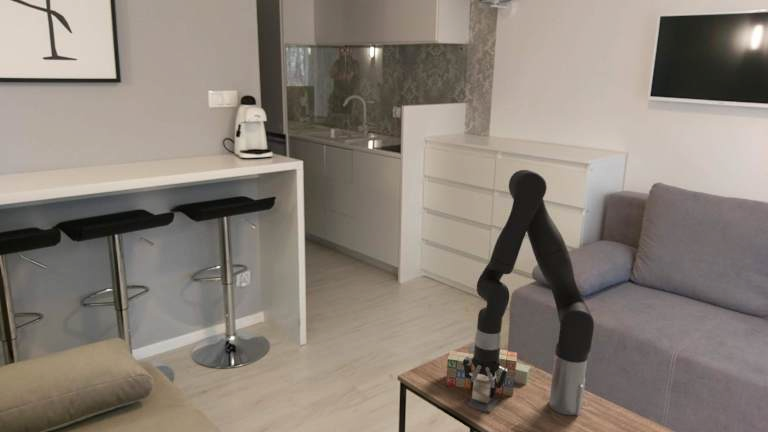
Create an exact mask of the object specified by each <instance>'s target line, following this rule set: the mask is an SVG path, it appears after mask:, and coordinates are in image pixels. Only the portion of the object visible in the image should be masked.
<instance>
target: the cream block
mask: <svg viewBox="0 0 768 432" xmlns="http://www.w3.org/2000/svg"><path fill="white" fill-rule="evenodd" d="M490 389H491V383H490V381H489V379H488V376H485V375H481V374H479V375H478V376H477V377H476V379H474V381H473V392H472V391H471V393H472V394H471V399H475V400H479V401H482V402H485V403H488V402H489V401H490V400H491V398H490Z"/></svg>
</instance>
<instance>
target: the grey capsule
mask: <svg viewBox="0 0 768 432" xmlns="http://www.w3.org/2000/svg"><path fill="white" fill-rule="evenodd" d="M474 347H475V345H472V346H469V347H468V352H467V353H469V354H474Z"/></svg>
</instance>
